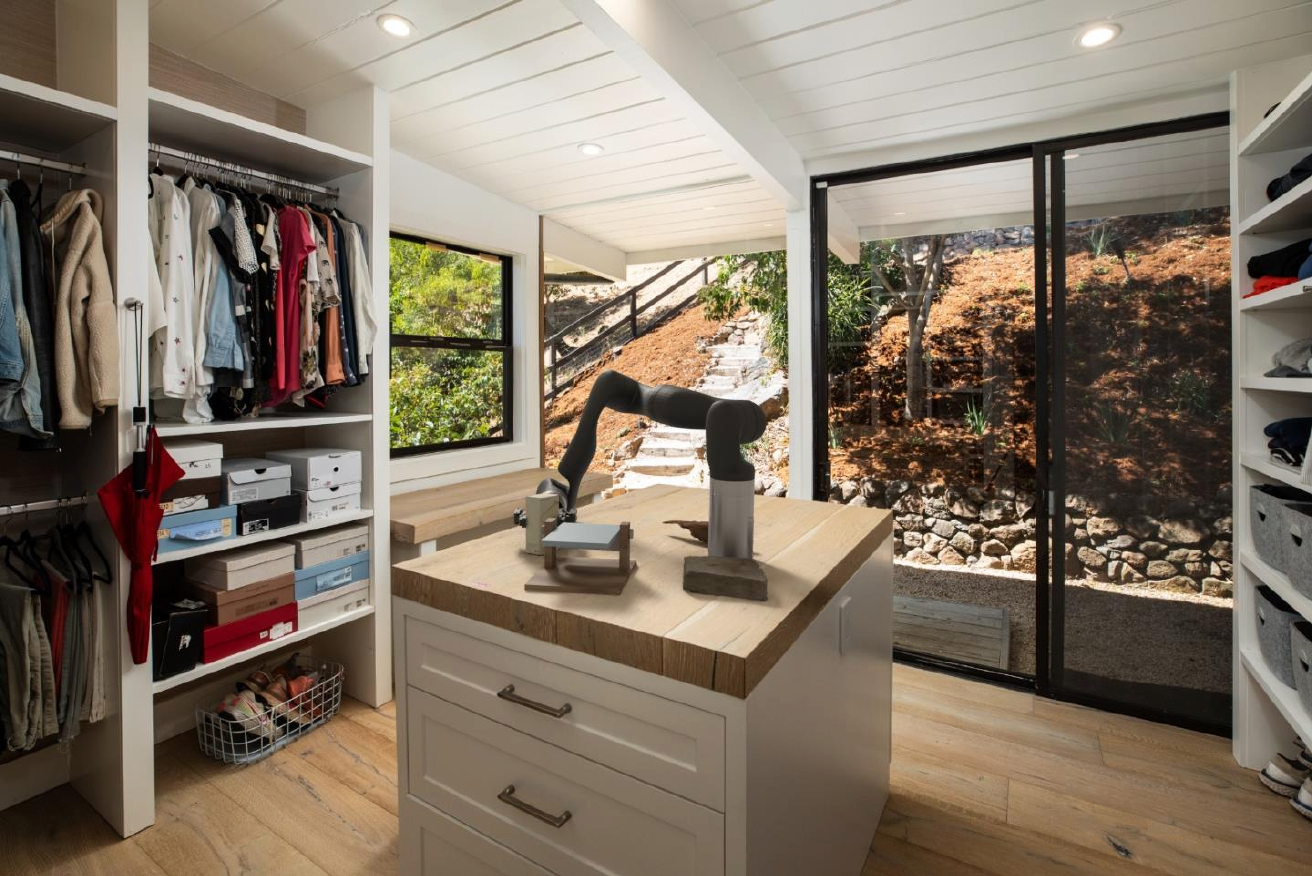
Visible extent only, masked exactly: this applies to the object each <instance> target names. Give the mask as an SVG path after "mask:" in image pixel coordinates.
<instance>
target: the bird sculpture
mask: <svg viewBox="0 0 1312 876" xmlns="http://www.w3.org/2000/svg"><path fill="white" fill-rule="evenodd" d="M662 524H665V525H667V524H668V525H673V524H675V525H678V526H679V527H680V528H681V529H683V530H688V531H689V532H690V536H691V537H692V538H693V539H697V540H698V541H699V542H702V543H707V544H708V527H709V520H708V521H707V520H700V521H698V520H680V519H672V520H669V519H668V520H666V521H662ZM754 542H755V540H754V539H753V543H754Z"/></svg>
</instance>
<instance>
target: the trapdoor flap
mask: <svg viewBox="0 0 1312 876" xmlns="http://www.w3.org/2000/svg"><path fill="white" fill-rule="evenodd" d="M619 544H620V524H606V523H584V522H575V523H564V522H563V523H562V524H561V525H560V526H559V527H557V528H556V529H555V530H554V531H552V532H551V533H550V534H549V535H547V536H546V537H545V538H544V539H542V540H541V546H555V547H559V549H562V550H565V549H566V550H583V551H584V550H586V551H602V552H603V551H604V552H605V551H607V552H619Z"/></svg>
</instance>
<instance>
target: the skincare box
mask: <svg viewBox="0 0 1312 876" xmlns="http://www.w3.org/2000/svg"><path fill="white" fill-rule="evenodd" d="M525 512H526V528H525V553H527V554H533V555H538V556H541V555H544V546H541V540H542V539H544V535H542V534H541V528H542V525H544V521H546V520H547V519H548V518H556V528H557V518H558V516H559V495H557V494H548V493H542V494H536V493H535V494H531V495H527V496H526V495H525ZM559 549H560V548H559V547H556V551H559Z"/></svg>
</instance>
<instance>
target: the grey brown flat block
mask: <svg viewBox="0 0 1312 876" xmlns="http://www.w3.org/2000/svg"><path fill="white" fill-rule="evenodd" d="M683 561H684V562H683V569H682V570H683V572H682V573H683V574H682V575H683V576H682V590H683V591H686V592H690V593H693V594H698V595H699V594H700V595H708V596H709V595H710V596H716V597H726V598H727V597H728V598H732V599H739V600H746V601H759V602H766V601H768V600H769V596H768V595H769V592H768V586H769V584H768V578H767V575H765V571H764V570H763V569H762V568H760V565H759V563H758V562H757V561H756V560H755V559H754V558H753V559H747V558H744V559H741V558H734V557H732V558H731V557H718V556H708V555H707V556H705V555H703V556H700V555H699V556H698V555H697V556H696V555H688V556H684V559H683Z"/></svg>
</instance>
